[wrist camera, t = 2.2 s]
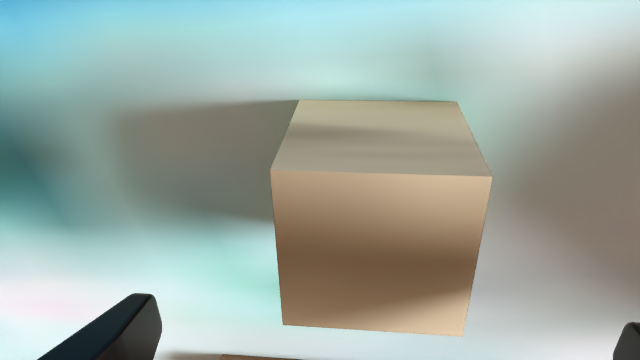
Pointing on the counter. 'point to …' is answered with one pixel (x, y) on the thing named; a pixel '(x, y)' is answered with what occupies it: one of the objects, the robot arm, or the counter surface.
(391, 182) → the maple cube
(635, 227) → the counter surface
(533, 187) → the counter surface
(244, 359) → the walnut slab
